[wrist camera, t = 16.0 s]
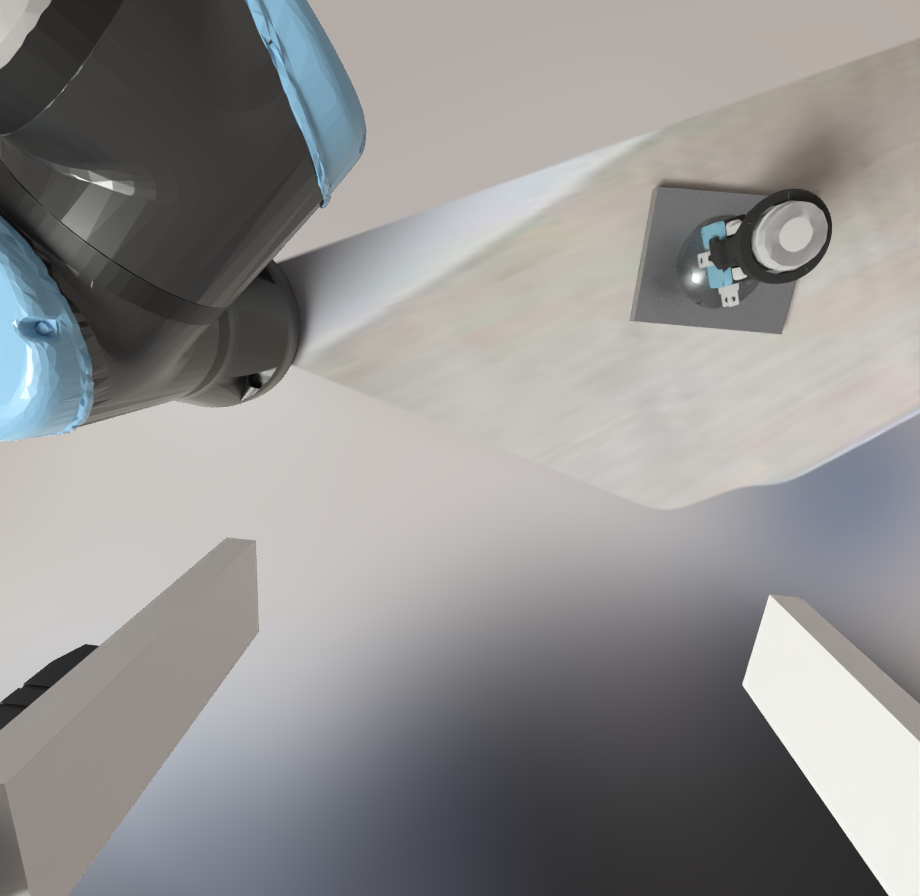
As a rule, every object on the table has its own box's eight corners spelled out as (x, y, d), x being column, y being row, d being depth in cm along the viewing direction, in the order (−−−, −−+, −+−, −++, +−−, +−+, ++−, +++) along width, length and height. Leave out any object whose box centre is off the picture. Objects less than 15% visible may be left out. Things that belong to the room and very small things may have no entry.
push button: (757, 296, 38) (849, 290, 28) (690, 315, 39) (757, 315, 29) (746, 209, 36) (840, 171, 27) (676, 231, 37) (743, 201, 28)
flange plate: (629, 320, 40) (634, 320, 39) (652, 190, 38) (658, 186, 36) (772, 333, 40) (781, 334, 39) (806, 203, 37) (816, 199, 36)
